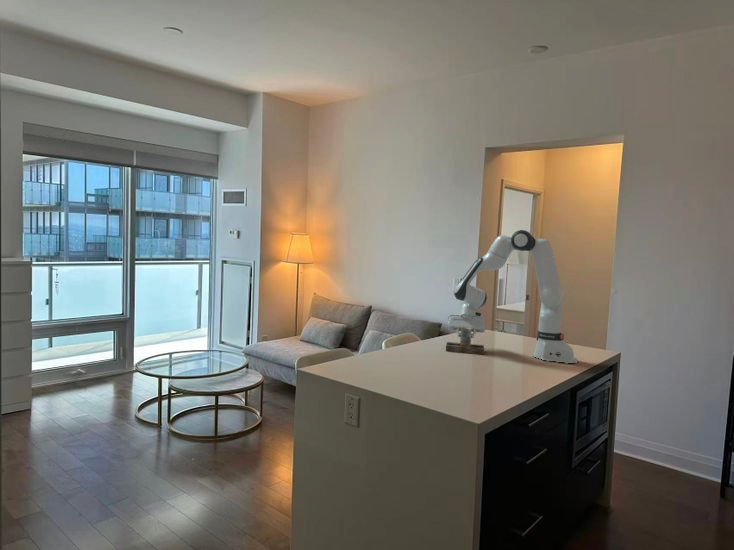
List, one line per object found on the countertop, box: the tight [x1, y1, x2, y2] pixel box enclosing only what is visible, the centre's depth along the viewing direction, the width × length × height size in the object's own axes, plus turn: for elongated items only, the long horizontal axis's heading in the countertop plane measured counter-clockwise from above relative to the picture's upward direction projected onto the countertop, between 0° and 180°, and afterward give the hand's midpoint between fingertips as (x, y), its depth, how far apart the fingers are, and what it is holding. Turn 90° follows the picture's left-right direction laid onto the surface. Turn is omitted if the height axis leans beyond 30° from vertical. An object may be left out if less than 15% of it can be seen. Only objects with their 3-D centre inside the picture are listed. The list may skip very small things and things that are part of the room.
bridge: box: [445, 341, 485, 355], centre depth 290 cm, size 20×10×3 cm, turn 79°
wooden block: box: [459, 327, 472, 347], centre depth 290 cm, size 6×2×10 cm, turn 79°
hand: (465, 336), depth 289 cm, fingers closed on wooden block, 5 cm apart
